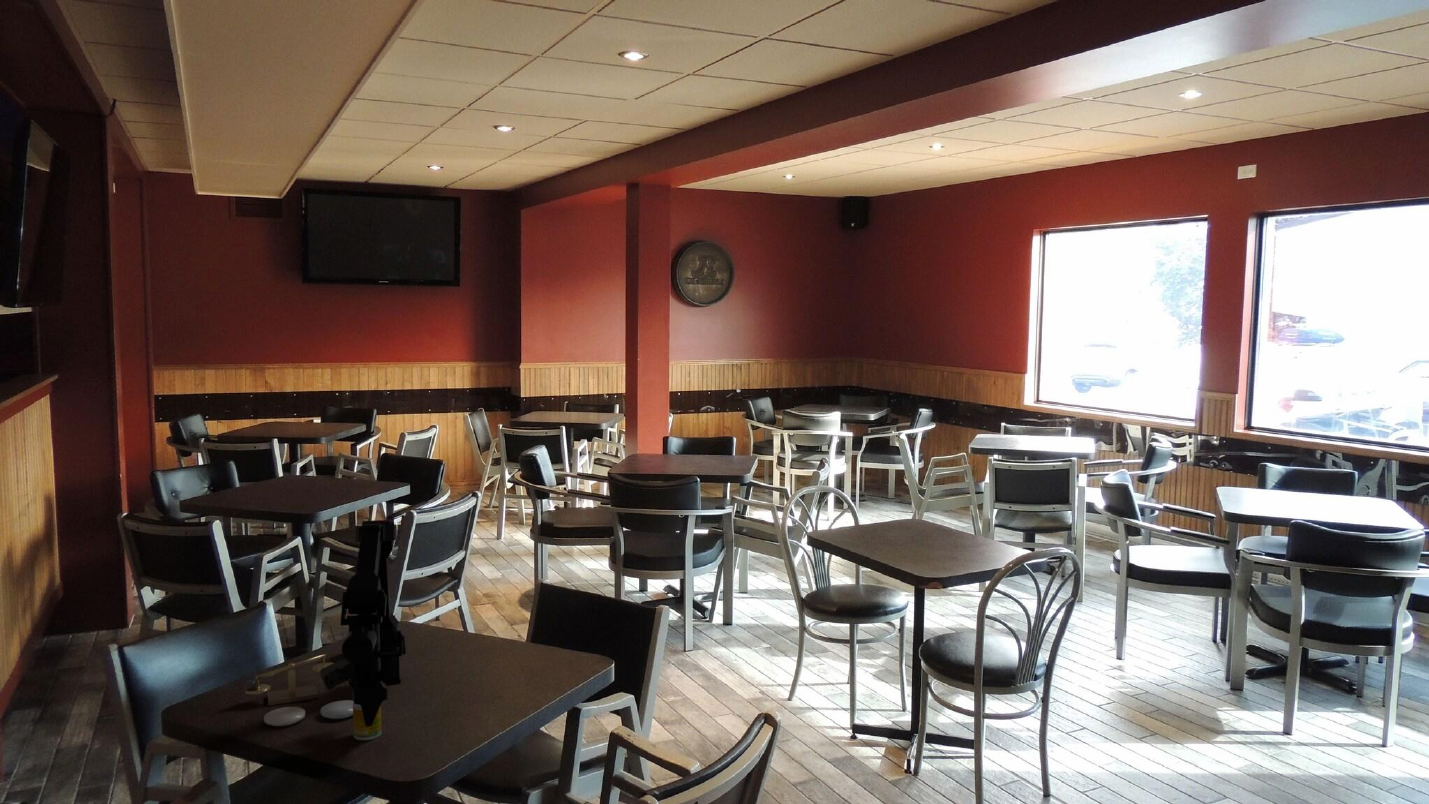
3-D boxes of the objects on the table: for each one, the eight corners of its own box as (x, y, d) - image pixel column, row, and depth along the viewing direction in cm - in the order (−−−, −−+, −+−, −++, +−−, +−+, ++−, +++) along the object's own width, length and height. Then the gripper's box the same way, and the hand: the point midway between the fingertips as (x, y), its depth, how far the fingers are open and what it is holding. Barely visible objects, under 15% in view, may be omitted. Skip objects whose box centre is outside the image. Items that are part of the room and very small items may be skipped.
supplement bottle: (372, 742, 202) (371, 695, 201) (348, 739, 203) (346, 693, 203) (386, 731, 208) (385, 685, 207) (362, 728, 209) (361, 683, 208)
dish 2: (358, 703, 222) (358, 698, 222) (362, 717, 215) (362, 711, 214) (319, 709, 218) (319, 704, 218) (322, 723, 211) (321, 717, 211)
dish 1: (304, 710, 218) (304, 704, 218) (306, 724, 211) (306, 718, 211) (263, 716, 215) (263, 710, 215) (264, 730, 208) (264, 724, 207)
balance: (336, 686, 232) (334, 648, 231) (338, 695, 227) (336, 656, 226) (246, 699, 224) (244, 660, 223) (246, 709, 219) (244, 669, 218)
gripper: (319, 637, 209) (321, 710, 210) (325, 667, 192) (328, 746, 193) (375, 630, 214) (377, 702, 215) (386, 658, 197) (388, 736, 198)
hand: (367, 721), depth 205 cm, fingers closed on supplement bottle, 5 cm apart
